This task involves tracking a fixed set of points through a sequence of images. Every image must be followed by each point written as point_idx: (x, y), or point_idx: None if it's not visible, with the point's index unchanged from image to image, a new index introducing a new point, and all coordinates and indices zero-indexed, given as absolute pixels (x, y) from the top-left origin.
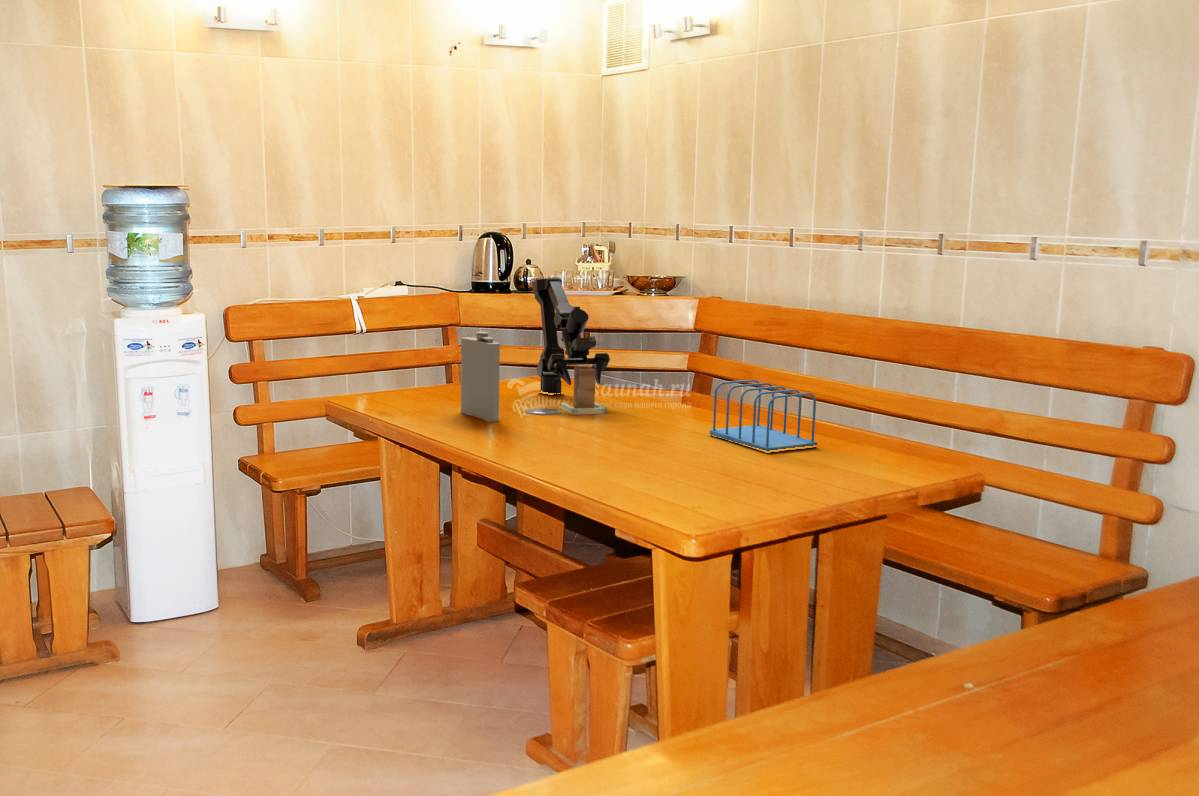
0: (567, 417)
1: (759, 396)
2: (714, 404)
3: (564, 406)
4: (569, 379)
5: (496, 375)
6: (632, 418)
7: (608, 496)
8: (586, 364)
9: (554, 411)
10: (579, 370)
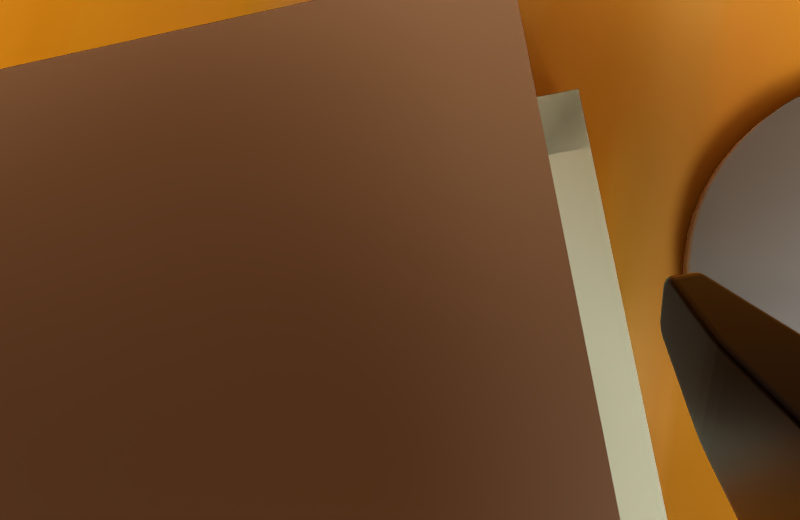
0: (632, 51)
1: None
2: None
3: (638, 401)
4: (748, 330)
5: None
6: (3, 7)
7: None
8: None
9: (767, 278)
10: (517, 38)
